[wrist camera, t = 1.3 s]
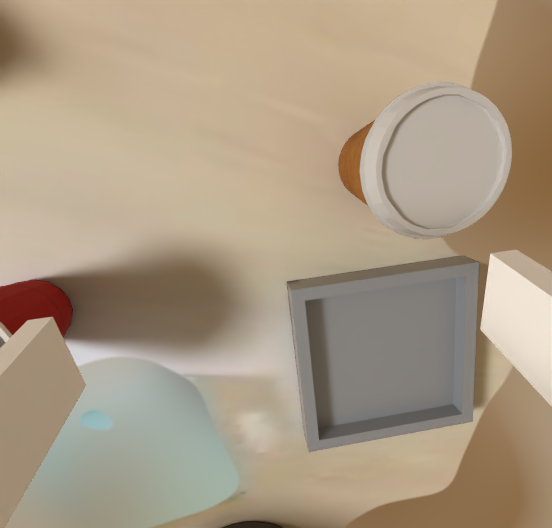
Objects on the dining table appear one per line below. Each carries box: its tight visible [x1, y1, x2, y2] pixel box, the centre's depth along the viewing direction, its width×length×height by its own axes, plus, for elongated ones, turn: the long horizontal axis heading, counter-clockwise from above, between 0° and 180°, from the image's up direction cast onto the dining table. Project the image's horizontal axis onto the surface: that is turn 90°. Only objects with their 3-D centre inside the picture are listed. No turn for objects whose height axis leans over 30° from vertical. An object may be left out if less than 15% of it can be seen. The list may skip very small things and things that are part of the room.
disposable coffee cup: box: [339, 82, 512, 239], centre depth 28 cm, size 10×10×12 cm
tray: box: [287, 256, 479, 452], centre depth 37 cm, size 18×18×2 cm
